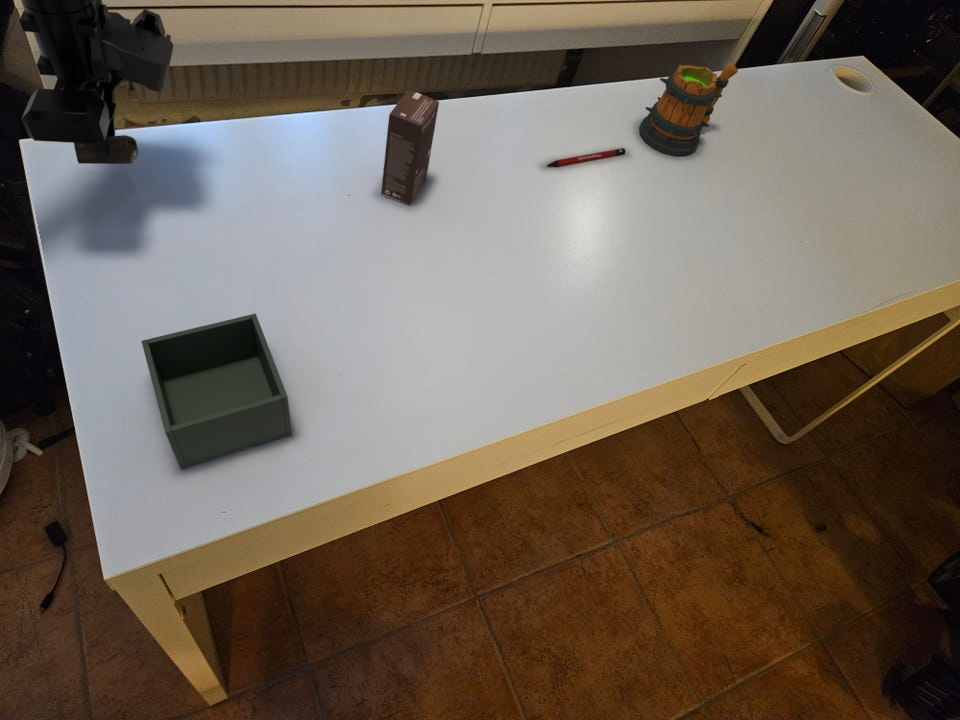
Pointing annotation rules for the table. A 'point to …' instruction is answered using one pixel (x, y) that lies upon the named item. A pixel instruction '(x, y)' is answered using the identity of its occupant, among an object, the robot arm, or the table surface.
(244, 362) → the bin
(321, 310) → the table surface
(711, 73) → the mug
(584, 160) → the pencil
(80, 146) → the block
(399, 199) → the box
